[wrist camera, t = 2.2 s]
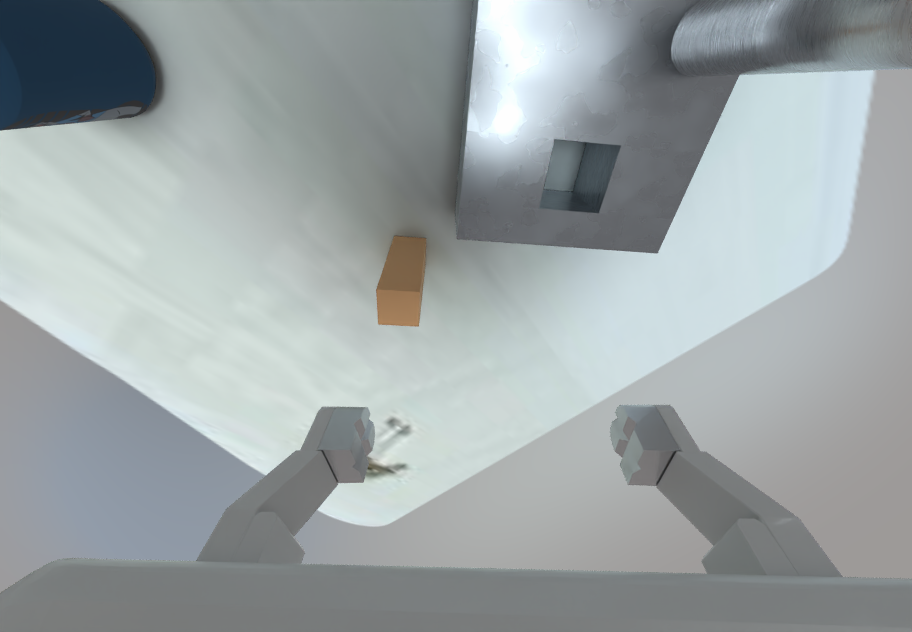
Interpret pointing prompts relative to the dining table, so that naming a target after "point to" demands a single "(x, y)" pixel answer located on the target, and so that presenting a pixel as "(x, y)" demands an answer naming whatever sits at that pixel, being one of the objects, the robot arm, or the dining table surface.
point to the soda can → (69, 64)
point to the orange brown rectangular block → (402, 282)
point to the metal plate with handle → (630, 102)
